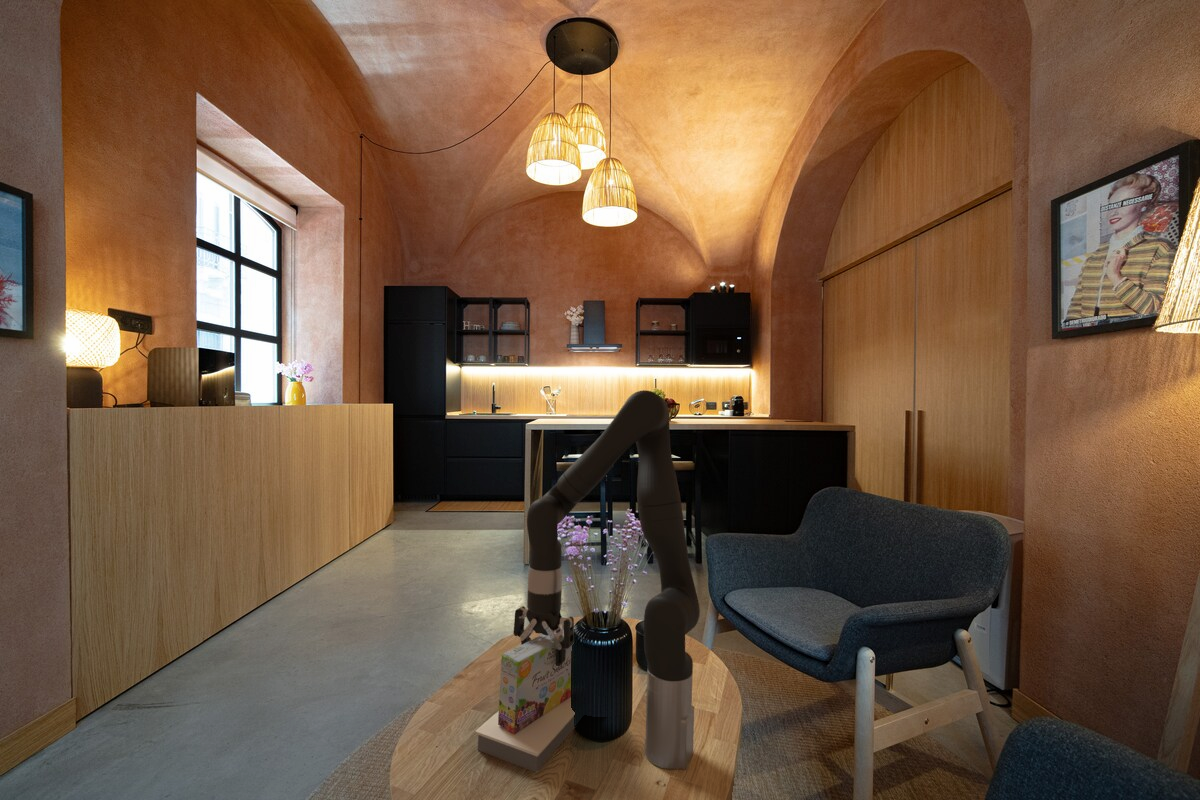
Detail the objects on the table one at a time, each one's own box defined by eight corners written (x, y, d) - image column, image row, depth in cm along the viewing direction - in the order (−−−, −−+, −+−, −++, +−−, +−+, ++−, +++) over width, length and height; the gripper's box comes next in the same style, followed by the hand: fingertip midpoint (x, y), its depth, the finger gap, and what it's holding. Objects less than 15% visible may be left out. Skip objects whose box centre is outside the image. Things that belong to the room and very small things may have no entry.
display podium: (597, 704, 124) (597, 687, 124) (537, 775, 100) (537, 754, 100) (543, 687, 130) (543, 671, 131) (474, 750, 106) (475, 731, 106)
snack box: (516, 737, 105) (518, 661, 105) (496, 726, 108) (499, 653, 108) (580, 691, 122) (582, 627, 122) (562, 683, 125) (564, 621, 125)
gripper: (581, 587, 116) (579, 660, 116) (526, 576, 122) (524, 646, 122) (564, 597, 109) (562, 675, 109) (508, 586, 115) (506, 660, 115)
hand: (542, 660), depth 115 cm, fingers open, 8 cm apart
